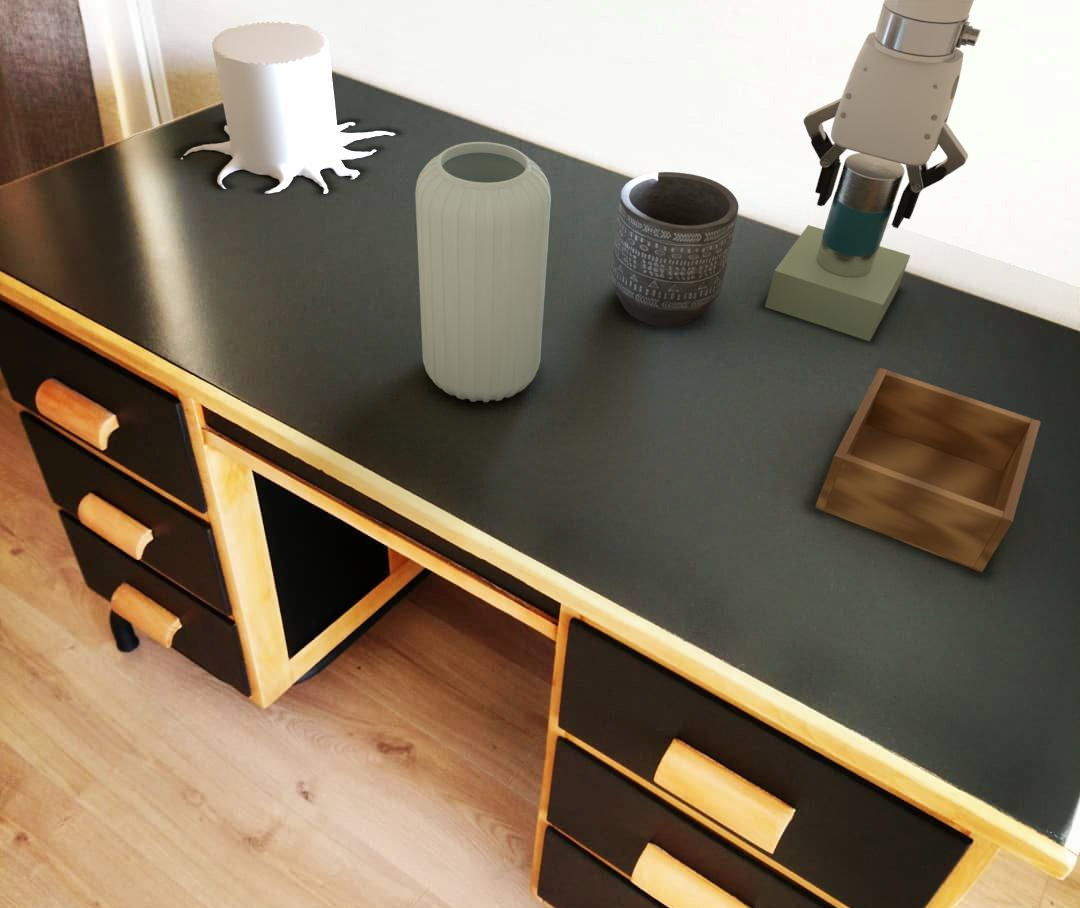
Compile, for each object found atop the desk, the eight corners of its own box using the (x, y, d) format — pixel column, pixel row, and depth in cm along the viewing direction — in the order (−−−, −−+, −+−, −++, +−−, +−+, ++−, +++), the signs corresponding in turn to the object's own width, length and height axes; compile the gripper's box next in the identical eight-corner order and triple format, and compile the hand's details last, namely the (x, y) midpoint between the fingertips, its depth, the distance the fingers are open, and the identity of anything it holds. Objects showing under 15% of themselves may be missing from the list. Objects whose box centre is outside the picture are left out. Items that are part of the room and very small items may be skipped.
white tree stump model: (304, 215, 114) (288, 98, 104) (145, 165, 121) (115, 50, 110) (411, 139, 130) (406, 31, 120) (265, 98, 136) (249, -7, 126)
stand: (895, 294, 109) (910, 255, 105) (868, 344, 101) (883, 304, 98) (797, 263, 112) (808, 224, 109) (763, 310, 105) (774, 270, 101)
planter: (718, 286, 108) (742, 179, 99) (712, 346, 100) (736, 236, 90) (614, 271, 109) (627, 164, 100) (599, 329, 101) (612, 218, 91)
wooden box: (1009, 475, 88) (1040, 421, 83) (979, 575, 79) (1013, 521, 74) (858, 421, 92) (879, 367, 87) (813, 510, 83) (834, 455, 78)
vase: (508, 335, 99) (516, 124, 83) (558, 398, 92) (577, 181, 76) (406, 360, 95) (393, 143, 79) (450, 427, 88) (446, 205, 72)
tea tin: (877, 258, 104) (911, 162, 96) (863, 283, 101) (897, 185, 93) (825, 242, 106) (854, 146, 98) (808, 266, 102) (837, 168, 94)
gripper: (1022, 40, 86) (950, 220, 99) (838, 0, 91) (793, 176, 104) (1008, 65, 81) (934, 251, 94) (815, 21, 86) (770, 203, 99)
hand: (860, 210), depth 99 cm, fingers open, 7 cm apart
